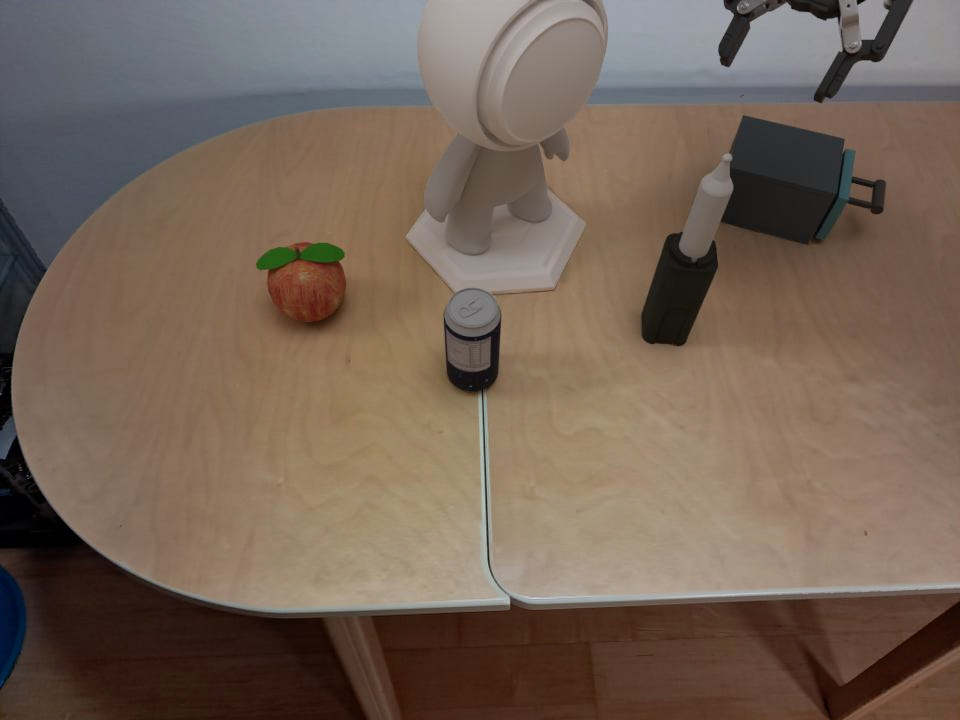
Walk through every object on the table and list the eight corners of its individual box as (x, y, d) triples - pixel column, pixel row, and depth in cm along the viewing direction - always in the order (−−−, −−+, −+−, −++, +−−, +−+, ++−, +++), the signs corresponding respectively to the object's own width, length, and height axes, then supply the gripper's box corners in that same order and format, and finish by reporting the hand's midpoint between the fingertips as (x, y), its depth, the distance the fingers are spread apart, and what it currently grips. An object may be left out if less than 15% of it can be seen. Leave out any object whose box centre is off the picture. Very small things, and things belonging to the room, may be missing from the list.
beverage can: (508, 380, 77) (513, 312, 67) (465, 405, 75) (464, 339, 65) (479, 345, 80) (480, 275, 70) (437, 368, 78) (431, 300, 68)
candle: (684, 311, 82) (755, 137, 62) (687, 346, 80) (762, 176, 59) (640, 308, 83) (696, 133, 62) (642, 343, 80) (701, 172, 59)
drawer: (869, 201, 92) (895, 160, 86) (864, 250, 87) (891, 210, 81) (745, 170, 95) (762, 128, 89) (733, 216, 90) (750, 175, 84)
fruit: (350, 335, 80) (336, 278, 72) (267, 336, 80) (242, 279, 72) (356, 278, 85) (344, 218, 77) (277, 278, 85) (256, 218, 77)
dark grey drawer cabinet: (816, 191, 94) (845, 138, 87) (807, 244, 89) (836, 193, 81) (723, 167, 97) (743, 114, 90) (708, 218, 91) (728, 166, 84)
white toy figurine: (486, 329, 81) (493, 47, 52) (382, 213, 91) (339, -76, 62) (615, 254, 87) (686, -33, 58) (505, 154, 98) (518, -132, 69)
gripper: (959, -67, 57) (847, 123, 61) (793, -116, 62) (699, 65, 66) (981, -117, 50) (853, 101, 54) (792, -167, 55) (688, 38, 59)
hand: (769, 81), depth 60 cm, fingers open, 8 cm apart
